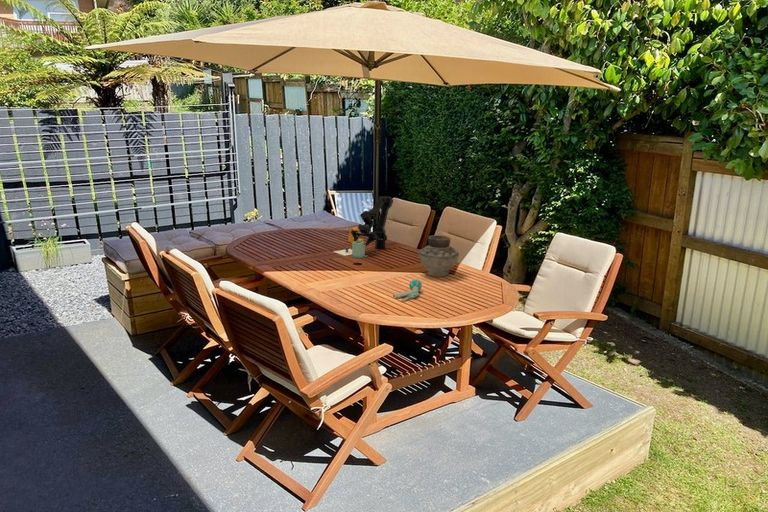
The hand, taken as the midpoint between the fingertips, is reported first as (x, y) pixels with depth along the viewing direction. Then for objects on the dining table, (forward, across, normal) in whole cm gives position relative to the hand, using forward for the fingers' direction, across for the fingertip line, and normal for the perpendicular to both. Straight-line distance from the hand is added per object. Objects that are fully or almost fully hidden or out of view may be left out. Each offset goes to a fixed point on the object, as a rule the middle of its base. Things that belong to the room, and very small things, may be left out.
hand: (359, 245), depth 407 cm
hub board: (+3, -13, +9) cm, 16 cm away
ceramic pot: (+15, +62, -1) cm, 64 cm away
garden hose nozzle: (+48, +64, -34) cm, 87 cm away
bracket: (-21, -24, +34) cm, 47 cm away
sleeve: (+7, 0, +4) cm, 8 cm away
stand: (+8, 0, +5) cm, 9 cm away
